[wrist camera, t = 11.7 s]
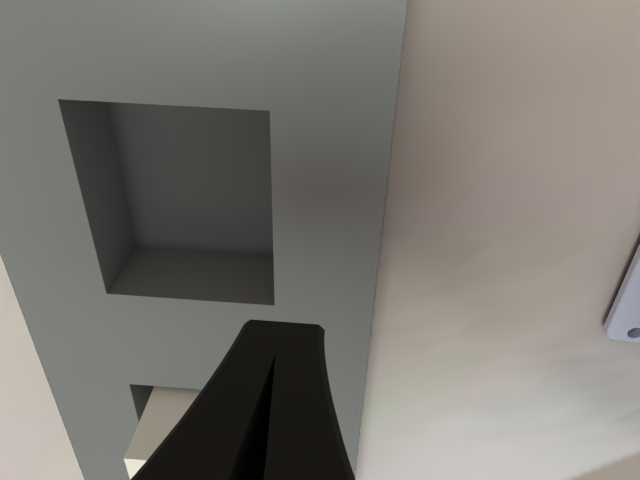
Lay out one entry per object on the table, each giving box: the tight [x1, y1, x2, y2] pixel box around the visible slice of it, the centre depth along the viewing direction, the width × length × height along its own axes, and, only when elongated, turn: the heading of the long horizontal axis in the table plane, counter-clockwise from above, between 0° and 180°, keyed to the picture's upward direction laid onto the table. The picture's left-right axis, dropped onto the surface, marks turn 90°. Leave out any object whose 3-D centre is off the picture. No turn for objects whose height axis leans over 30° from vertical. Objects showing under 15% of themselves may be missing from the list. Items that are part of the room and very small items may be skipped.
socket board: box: [0, 0, 407, 480], centre depth 20 cm, size 12×24×3 cm, turn 178°
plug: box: [124, 386, 201, 479], centre depth 22 cm, size 4×5×6 cm
